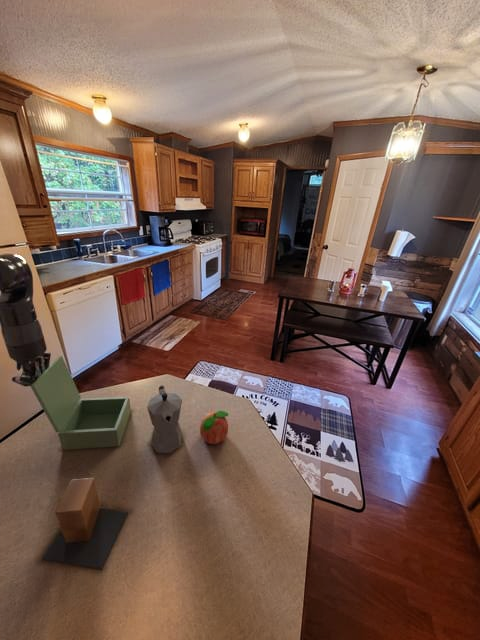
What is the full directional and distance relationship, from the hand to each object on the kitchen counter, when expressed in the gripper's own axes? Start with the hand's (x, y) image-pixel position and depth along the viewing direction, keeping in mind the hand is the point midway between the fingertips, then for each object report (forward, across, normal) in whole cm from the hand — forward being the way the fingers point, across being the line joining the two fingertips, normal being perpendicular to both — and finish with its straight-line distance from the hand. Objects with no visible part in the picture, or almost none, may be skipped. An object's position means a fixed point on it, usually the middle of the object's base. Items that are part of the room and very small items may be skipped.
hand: (41, 392), depth 70 cm
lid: (0, 0, +5) cm, 5 cm away
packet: (+14, +27, +19) cm, 36 cm away
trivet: (+15, +28, +20) cm, 38 cm away
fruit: (+16, +5, +48) cm, 51 cm away
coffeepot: (+16, +5, +34) cm, 37 cm away
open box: (+15, 0, +13) cm, 20 cm away
